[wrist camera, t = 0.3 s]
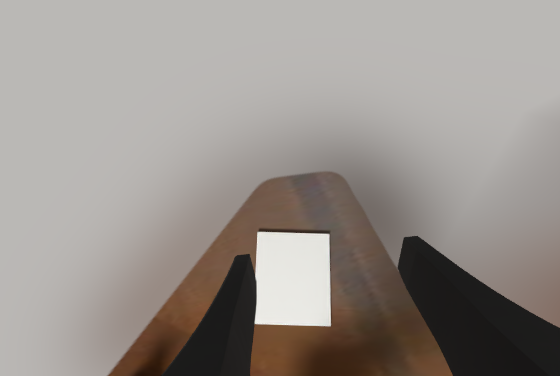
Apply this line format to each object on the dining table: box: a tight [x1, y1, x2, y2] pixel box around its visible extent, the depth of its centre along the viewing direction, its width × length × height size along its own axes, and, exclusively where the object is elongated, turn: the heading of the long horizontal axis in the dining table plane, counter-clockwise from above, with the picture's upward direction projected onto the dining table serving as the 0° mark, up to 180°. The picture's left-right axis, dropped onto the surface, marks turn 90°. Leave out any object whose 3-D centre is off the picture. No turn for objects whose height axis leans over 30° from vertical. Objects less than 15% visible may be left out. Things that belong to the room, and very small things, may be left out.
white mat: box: [255, 232, 331, 326], centre depth 39 cm, size 14×12×1 cm
